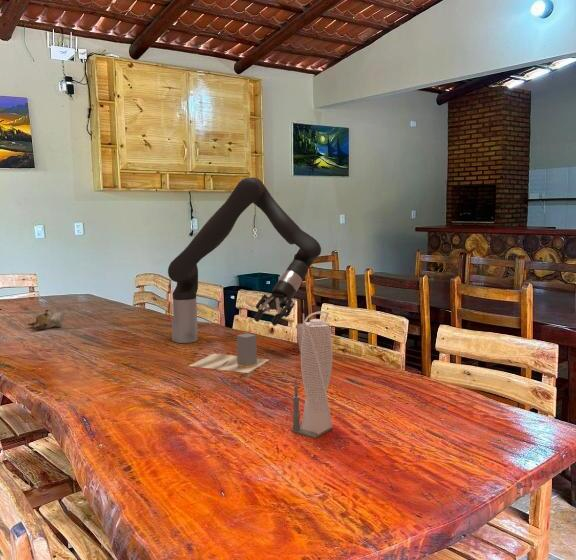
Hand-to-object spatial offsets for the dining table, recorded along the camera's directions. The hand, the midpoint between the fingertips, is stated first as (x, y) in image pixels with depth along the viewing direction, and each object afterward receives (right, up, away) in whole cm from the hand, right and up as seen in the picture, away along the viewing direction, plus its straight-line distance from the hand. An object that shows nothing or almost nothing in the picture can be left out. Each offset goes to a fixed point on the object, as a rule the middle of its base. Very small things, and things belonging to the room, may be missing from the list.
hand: (264, 322), depth 186 cm
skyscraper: (+15, -21, -58) cm, 63 cm away
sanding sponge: (-5, -13, -10) cm, 17 cm away
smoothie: (+14, -12, +13) cm, 23 cm away
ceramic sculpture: (-100, -7, +57) cm, 116 cm away
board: (-11, -14, -6) cm, 19 cm away
